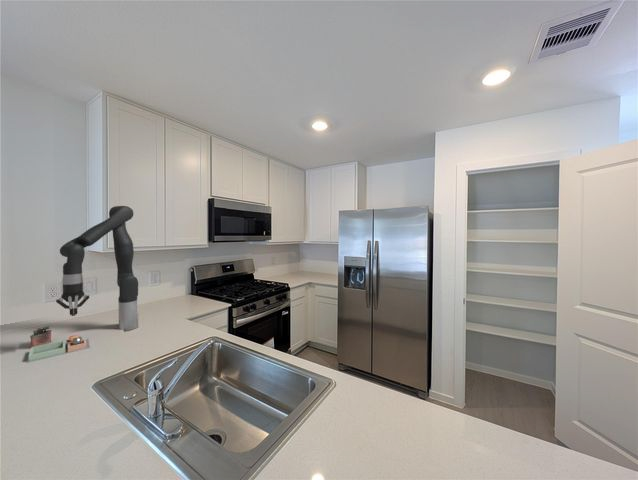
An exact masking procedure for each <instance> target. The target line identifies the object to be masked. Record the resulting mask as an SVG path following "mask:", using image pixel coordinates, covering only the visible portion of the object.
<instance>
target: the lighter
mask: <svg viewBox="0 0 638 480" xmlns="http://www.w3.org/2000/svg"><path fill="white" fill-rule="evenodd" d="M32 332H33V334H31V335H30V336H29V338H30V348H31V347H35V346H40V345H44V344H49V343H52V329H50V326H49V325H48V326H44V327H42V328H41V327H40V328H37V329H35V330H33V331H32Z"/></svg>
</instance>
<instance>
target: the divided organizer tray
mask: <svg viewBox="0 0 638 480" xmlns="http://www.w3.org/2000/svg"><path fill="white" fill-rule="evenodd" d="M80 337H81V344H77V345H73V342H69V339H67V340H66V339H64V340H60V341H55V342H51V343H49V344H44V345H40V346H35V347H31V346H30V350H29V352H28V355H27V359H26V362H25V364H27V363H31V362H36V361H40V360H45V359H48V358H52V357H56V356H61V355H65V354H70V353H74V352H79V351H81V350H86V349H90V341H89V338H87V339H86V338H83V337H82V336H80Z"/></svg>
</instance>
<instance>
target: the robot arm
mask: <svg viewBox="0 0 638 480" xmlns="http://www.w3.org/2000/svg"><path fill="white" fill-rule="evenodd" d="M108 216H109V217H108V218H107V219H105V220H104V221H102V222H99V223H98V224H96V225H94V226H92V227H90V228H88V229H86V231H84V232H83V233H81V234H80V235H79V236H77V237H75V238H73V239H72V240H70V241H68V242H66V243H64V244H63V245H62V246H61V247H60V248H59V253H60V256H62V257H64V258H66V263H65V262H64V264H63V265H62V278H61V279H62V282H61V283H62V294H61V296H60V297H59V298H58V299H55V302H56V303H57V304H58V305H60V306H61V307H62V308H64V309H65V310H66V309H68V310H69V316H71V317H75V316H76V315H77V314H78V309H79V308H81V307H82V306H83V305H84V304H86V302H87V301H88V300H89V299H90V295H87V294H85V292H84V278H83V264H84V263H83V262H84V259H85V254H86V251H85V248H87V247H91V246H93V245H94V244H96V243H97V242H98V241H99V240H101V239H102V238H103V237H104V236H106V235H107V234H108V233H110V232H111V231H112V238H113V239H112V240H113V249H114V258H115V262H116V269H117V272H116V273H117V274H116V275H117V276H116V277H117V278H116V284H117V287H118V288H119V291H118V292H119V295H118V299H117V300H118V329H119V330H123V332H128V331H129V332H130V331H133V330H135V329H139V312H138V295H139V279H138V278H137V277H135V275H134V271H133V261H134V253H135V252H134V243H133V240H132V237H131V236H130V234H129V233H128V230H127V227H126V225H127V224H126V222H128V221H130V220H132V218H133V217H134V210H133V208H131V207H129V206H126V205H116V206H112V207H111V208H110V209H109V211H108ZM63 301H65V302H66V303H68V304H66V303H65V302H63ZM79 301H80V302H79ZM73 302H74V303H73ZM78 302H79V303H78Z"/></svg>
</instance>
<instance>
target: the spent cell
mask: <svg viewBox="0 0 638 480" xmlns="http://www.w3.org/2000/svg"><path fill="white" fill-rule="evenodd" d="M81 337H82V336H79V337H75V338H73V345H77V344H81Z"/></svg>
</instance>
